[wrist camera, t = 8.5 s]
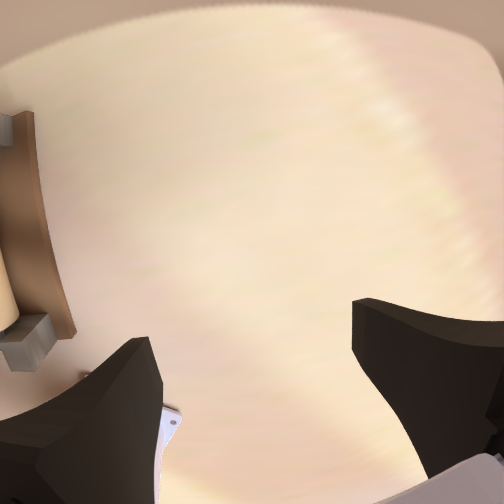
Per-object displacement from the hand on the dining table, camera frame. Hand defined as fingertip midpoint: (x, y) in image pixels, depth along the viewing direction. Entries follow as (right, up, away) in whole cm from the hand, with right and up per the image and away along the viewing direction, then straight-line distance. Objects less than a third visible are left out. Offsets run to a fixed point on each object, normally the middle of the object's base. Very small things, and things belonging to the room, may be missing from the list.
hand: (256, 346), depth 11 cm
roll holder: (-18, +4, +6) cm, 20 cm away
